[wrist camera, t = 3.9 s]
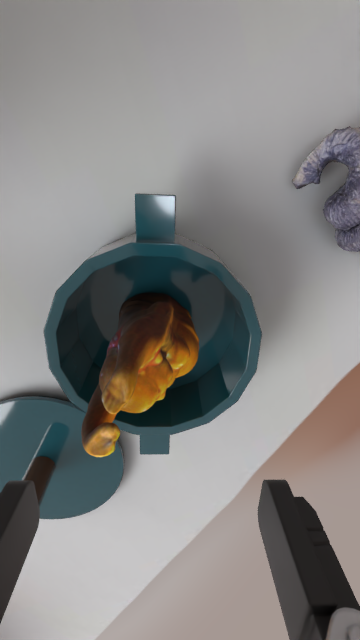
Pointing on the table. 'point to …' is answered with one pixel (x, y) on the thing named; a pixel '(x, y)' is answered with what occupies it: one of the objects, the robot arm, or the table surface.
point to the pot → (182, 285)
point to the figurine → (139, 365)
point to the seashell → (351, 199)
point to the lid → (55, 456)
